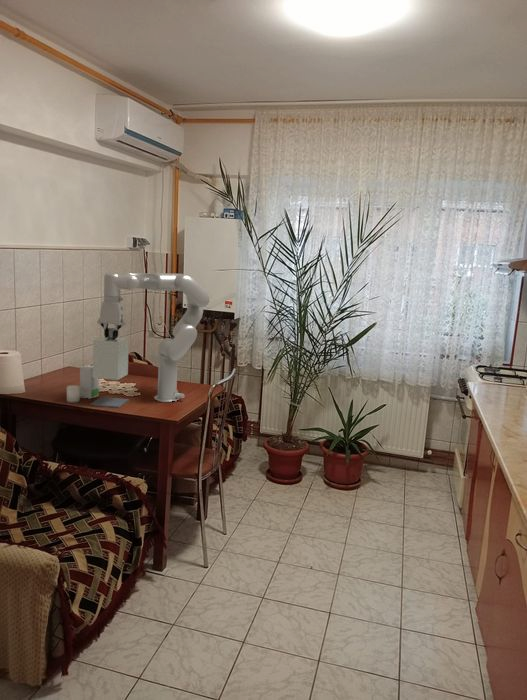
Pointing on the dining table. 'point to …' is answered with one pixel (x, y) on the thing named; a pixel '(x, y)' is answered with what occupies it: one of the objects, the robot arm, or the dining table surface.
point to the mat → (109, 402)
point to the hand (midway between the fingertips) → (111, 337)
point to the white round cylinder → (73, 393)
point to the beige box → (110, 356)
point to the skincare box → (88, 383)
